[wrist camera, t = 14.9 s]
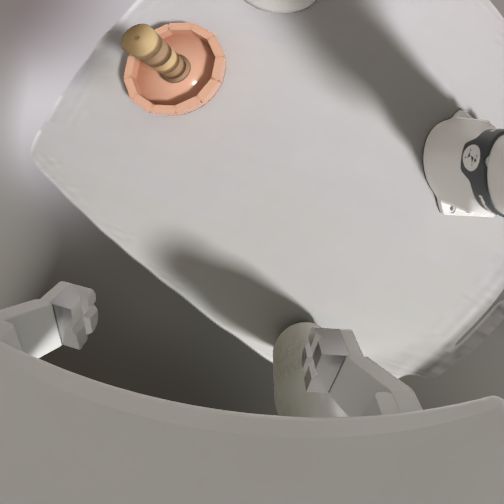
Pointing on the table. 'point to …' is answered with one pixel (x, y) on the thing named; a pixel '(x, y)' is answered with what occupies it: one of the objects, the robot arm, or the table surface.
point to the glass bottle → (298, 377)
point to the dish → (193, 86)
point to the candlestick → (281, 5)
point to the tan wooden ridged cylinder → (155, 53)
